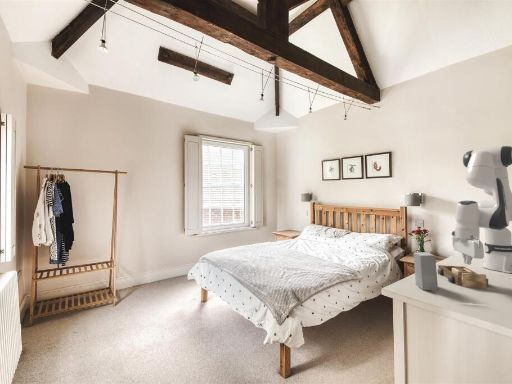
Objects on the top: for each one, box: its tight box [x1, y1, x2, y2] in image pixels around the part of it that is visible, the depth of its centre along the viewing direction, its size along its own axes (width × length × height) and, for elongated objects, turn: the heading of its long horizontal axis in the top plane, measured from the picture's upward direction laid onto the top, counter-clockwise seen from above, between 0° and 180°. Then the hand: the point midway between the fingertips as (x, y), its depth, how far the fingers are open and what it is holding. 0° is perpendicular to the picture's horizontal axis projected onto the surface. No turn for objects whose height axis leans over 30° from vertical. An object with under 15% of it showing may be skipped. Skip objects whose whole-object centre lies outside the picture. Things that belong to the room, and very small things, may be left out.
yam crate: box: [452, 268, 472, 280], centre depth 129 cm, size 6×6×5 cm
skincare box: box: [413, 251, 439, 291], centre depth 120 cm, size 8×7×16 cm
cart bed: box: [437, 264, 489, 289], centre depth 129 cm, size 15×21×4 cm
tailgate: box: [461, 273, 488, 289], centre depth 118 cm, size 9×1×6 cm, turn 75°
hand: (467, 263), depth 123 cm, fingers closed
